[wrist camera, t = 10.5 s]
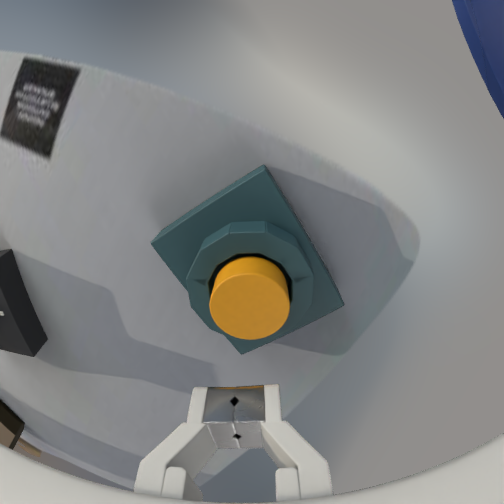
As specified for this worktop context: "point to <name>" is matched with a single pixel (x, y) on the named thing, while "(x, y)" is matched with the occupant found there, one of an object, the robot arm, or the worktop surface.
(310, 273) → the teal button mount
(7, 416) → the bottle
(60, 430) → the worktop surface
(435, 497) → the robot arm
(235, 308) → the trigger button
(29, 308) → the dark grey flat block
